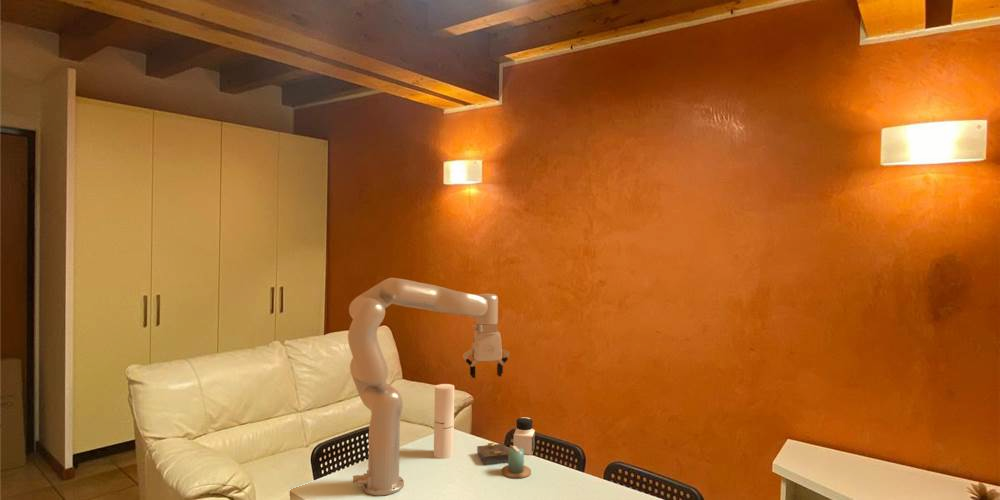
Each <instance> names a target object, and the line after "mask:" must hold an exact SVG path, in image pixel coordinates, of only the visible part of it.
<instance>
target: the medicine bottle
mask: <svg viewBox="0 0 1000 500" xmlns="http://www.w3.org/2000/svg"><path fill="white" fill-rule="evenodd" d="M515 426H516V427H515V428H516V429H515V431H514V433H513V445H512V446H516V447H521V448H523V449H524V455H528V456H529V455H533V453H534V450H535V442H536V439H535V438H536V436H535V435H536V430H535V429H533V420H532V418H530V417H525V416H524V417H518V418H517V419H516V425H515Z"/></svg>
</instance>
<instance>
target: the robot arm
mask: <svg viewBox="0 0 1000 500" xmlns="http://www.w3.org/2000/svg"><path fill="white" fill-rule="evenodd" d="M392 304H393V305H396V306H401V307H407V308H415V309H418V310H419V309H420V310H426V311H431V312H435V313H436V312H437V313H448V314H454V315H460V316H466V317H472V318H476V323H475V325H472V330H475V332H474V335H473V339H472V348H471V349H468V350H467V351H465V352H463V353H462V357H463V359H464V360H465V362H466V363H467V364H468V365H469V375H470V376H471V378H472V379H476V366H475V365H476V364H477V363H484V362H487V363H488V362H498V363H497V364H496V365H497V366H496V375H497V376H498V377H502V374H503V373H504V365H505V363H506V362H507V361H508V359H509V358H510V355H511V352H510V351H508V350H506V349H504V348H502V347H503V345H502V336H501V333H500V331H499V330H498V329H499V328H498V327H499V326H498V325H499V324H498V323H499V297H498V295H497V294H495V293H479V294H472V293H467V292H463V291H458V290H454V289H450V288H447V287H443V286H438V285H434V284H431V283H424V282H418V281H415V280H410V279H404V278H398V277H389V278H386V279H384V280H382V281H380V282H379V283H377V284H376V285H374V286H372V287H370V288H369V289H368V290H366V291H364V292H363V293H361V294H359V295H358V296H356V297H355V298H354V299H352V300H351V303H350V304H349V307H348V313H349V315H350V318H352V320H351V323H350V326H349V329H348V334H347V341H348V346H349V349H350V351H351V355H352V359H351V361H350V363H349V370H350V374H351V377H352V380H353V382H354V385H355V387H356V391H357V393H358V395H359V397H360V400H361V401H362V403H363V405H364V406H365V407H366V408H367V409H368V410H369V411H371V414H370V415H371V416H370V421H369V425H368V426H369V427H368V458H367V459H368V460H367V461H368V469H366V472H365V473H363V474H360V475H359V474H358V475H357V474H356V475H355V474H354V475H352V480H353V481H352V482H353V483H357V484H356V485H362V490H363V492H365V493H366V494H368V495H372V496H388V495H392V494H395V493H398V492H399V491H401V489H403V488H404V485H405V480H404V479H403V478H402V477H401V476H400V440H401V439H400V434H401V430H400V429H401V418H402V412H403V398H402V395H401V393H400V392H399V390H398V389H396V388H395V387H393V386H392V385H390V384H388V383H387V379H388V375H389V367H388V364H387V362H386V359H385V357H384V354H383V352H382V350H381V346H380V343H379V340H378V336H377V335H378V330H379V327H380V325H381V323H382V322H383V321H384V318H385V315H386V308H388V307H389V306H391V305H392ZM503 354H504V356H503ZM469 356H471V359H470V358H469Z"/></svg>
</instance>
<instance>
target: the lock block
mask: <svg viewBox="0 0 1000 500" xmlns="http://www.w3.org/2000/svg"><path fill="white" fill-rule="evenodd" d="M476 449H477V451H476V453H477V454H476V455H477V456H478V458H479V459H480V461H481V463H482V464H483V465H484V466H492V465H499V464H501V463H502V464H508V453H509V448H507V447H506V445H505V443H496V444H495V442H490V443H489V442H488V443H487V445H477V446H476ZM502 464H501V465H502Z"/></svg>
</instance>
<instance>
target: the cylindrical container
mask: <svg viewBox="0 0 1000 500" xmlns="http://www.w3.org/2000/svg"><path fill="white" fill-rule="evenodd" d="M433 414H434V417H433V418H434V423H433V428H434V429H433V457H434V458H437V459H442V460H443V459H449V458H452V457H453V456H454V435H455V432H454V431H455V429H454V428H455V424H454V423H455V385H454V384H451V383H440V384H435V385H434V413H433Z"/></svg>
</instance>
